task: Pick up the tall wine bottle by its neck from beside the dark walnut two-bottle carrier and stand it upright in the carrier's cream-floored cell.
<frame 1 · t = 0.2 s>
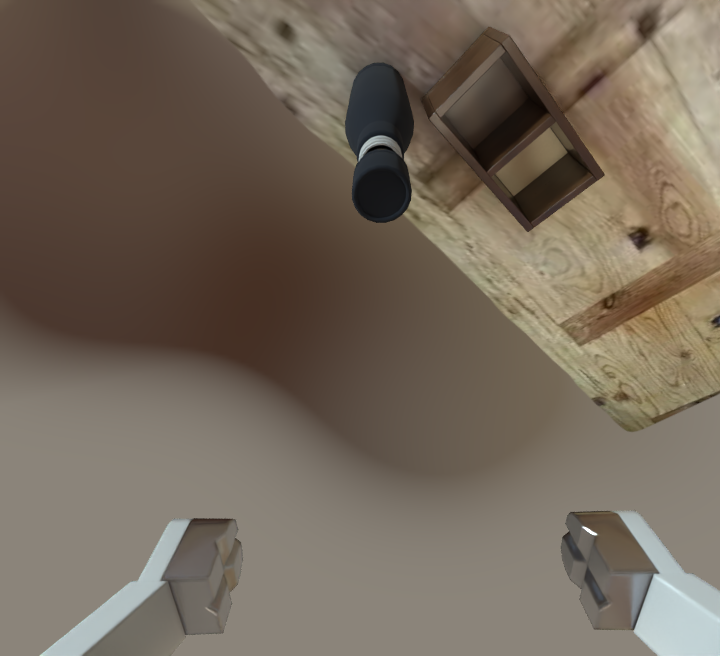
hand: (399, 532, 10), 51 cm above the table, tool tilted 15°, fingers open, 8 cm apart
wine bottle: (378, 93, 49), on the table
carrier: (500, 125, 51), on the table
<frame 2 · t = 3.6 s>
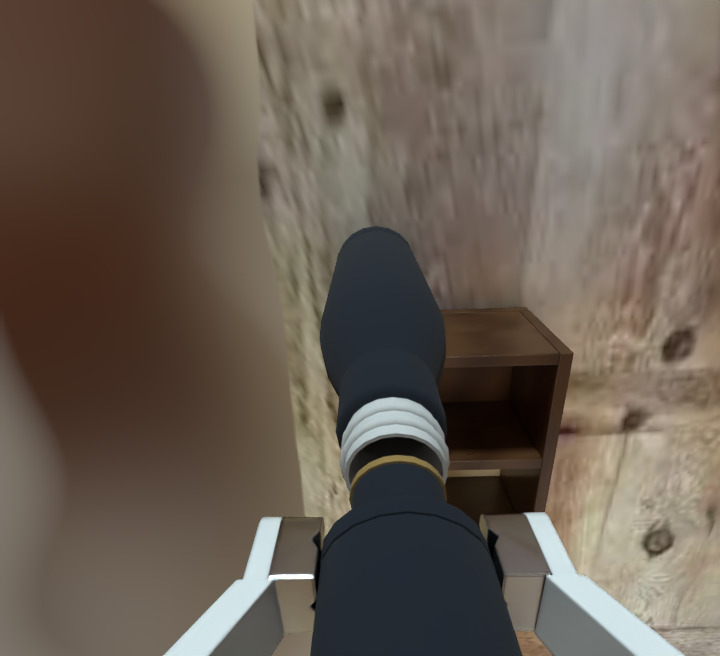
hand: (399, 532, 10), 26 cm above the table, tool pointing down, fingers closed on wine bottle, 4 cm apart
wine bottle: (375, 264, 34), on the table, touching gripper
carrier: (463, 400, 39), on the table
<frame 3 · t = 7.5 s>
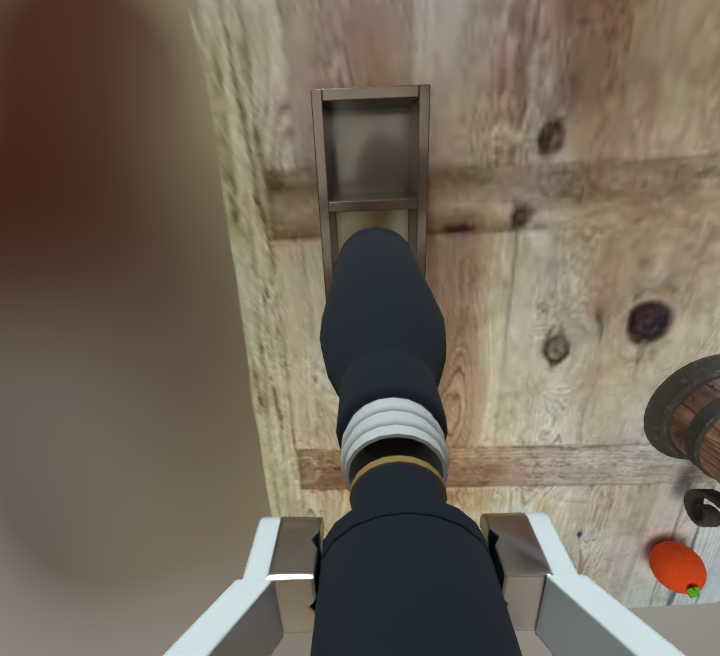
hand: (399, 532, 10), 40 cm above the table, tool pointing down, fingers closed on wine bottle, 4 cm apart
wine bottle: (375, 264, 34), point 14 cm above the table, touching gripper
tankard: (700, 428, 57), on the table
clementine: (661, 547, 66), on the table
carrier: (371, 196, 45), on the table
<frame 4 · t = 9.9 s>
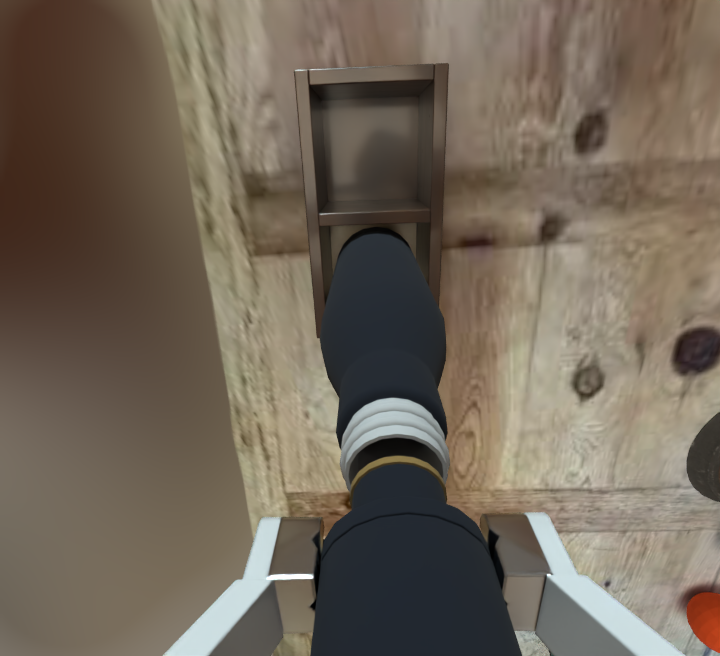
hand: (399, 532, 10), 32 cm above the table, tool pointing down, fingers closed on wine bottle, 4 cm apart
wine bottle: (375, 264, 34), point 5 cm above the table, touching gripper
clementine: (699, 598, 58), on the table
carrier: (372, 204, 38), on the table
when the fingers open (27 cm above the table, at t = 11.6 s): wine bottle stays where it is, resting on carrier.
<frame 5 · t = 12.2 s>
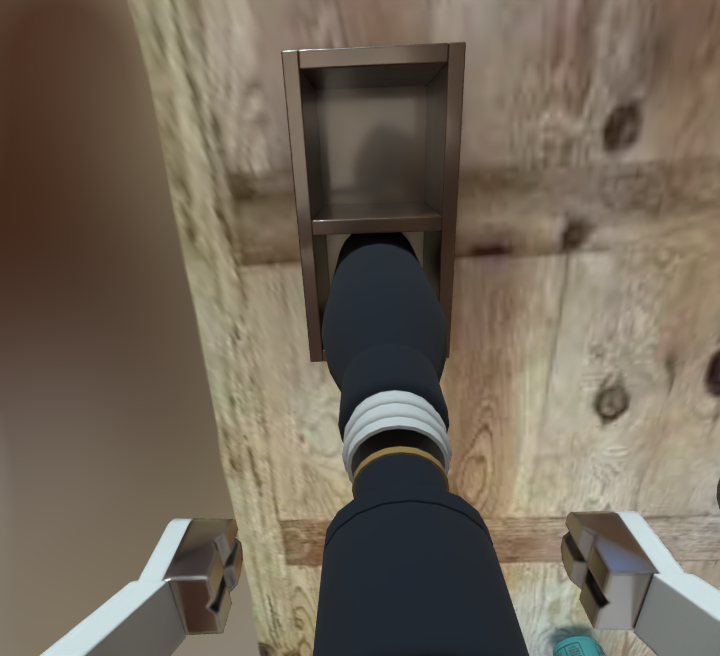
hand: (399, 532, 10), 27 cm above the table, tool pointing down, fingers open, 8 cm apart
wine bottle: (376, 262, 34), point 1 cm above the table, touching carrier
carrier: (374, 208, 34), on the table
beverage bottle: (570, 636, 55), on the table
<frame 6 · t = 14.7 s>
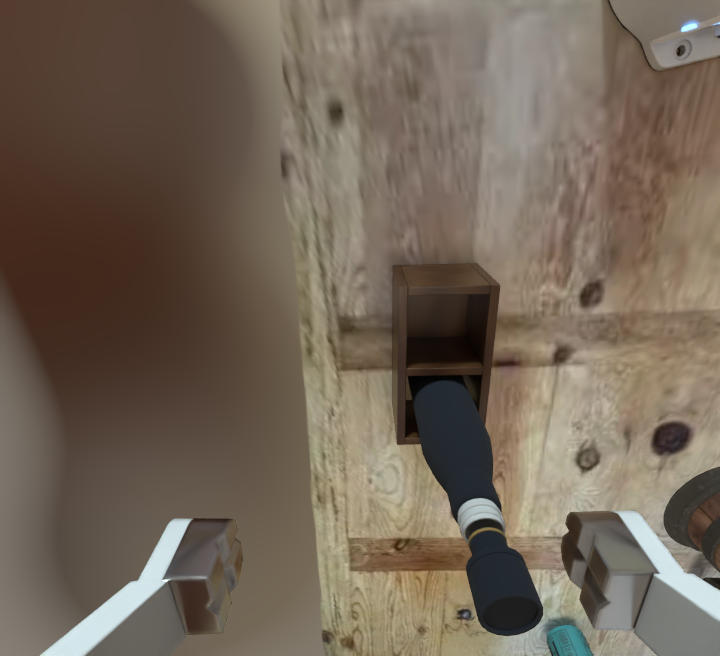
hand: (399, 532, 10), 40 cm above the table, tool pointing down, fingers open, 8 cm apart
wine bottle: (431, 371, 52), point 1 cm above the table, touching carrier
tankard: (713, 523, 63), on the table
carrier: (431, 337, 51), on the table
beverage bottle: (560, 625, 73), on the table
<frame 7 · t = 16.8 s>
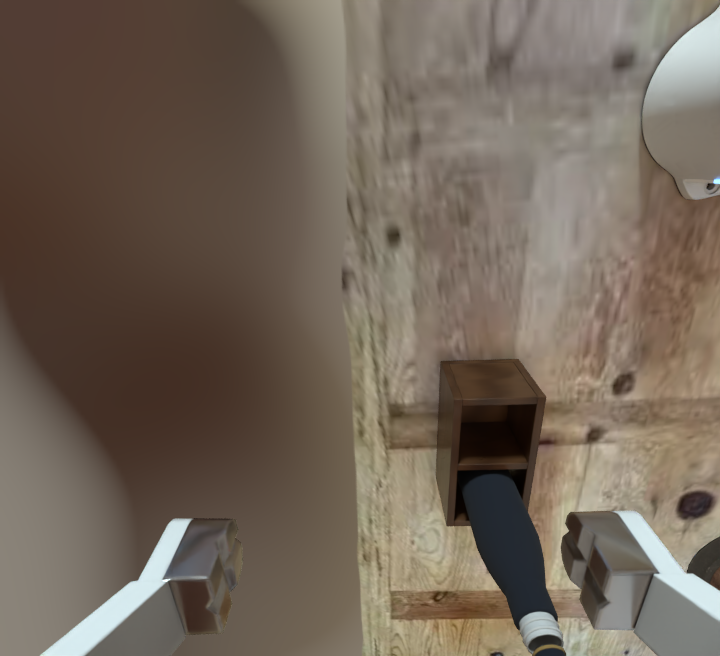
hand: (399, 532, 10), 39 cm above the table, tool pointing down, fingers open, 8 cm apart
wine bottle: (474, 450, 57), point 1 cm above the table, touching carrier
carrier: (474, 421, 56), on the table
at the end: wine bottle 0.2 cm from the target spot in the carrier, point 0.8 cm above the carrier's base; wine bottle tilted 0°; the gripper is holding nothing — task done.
